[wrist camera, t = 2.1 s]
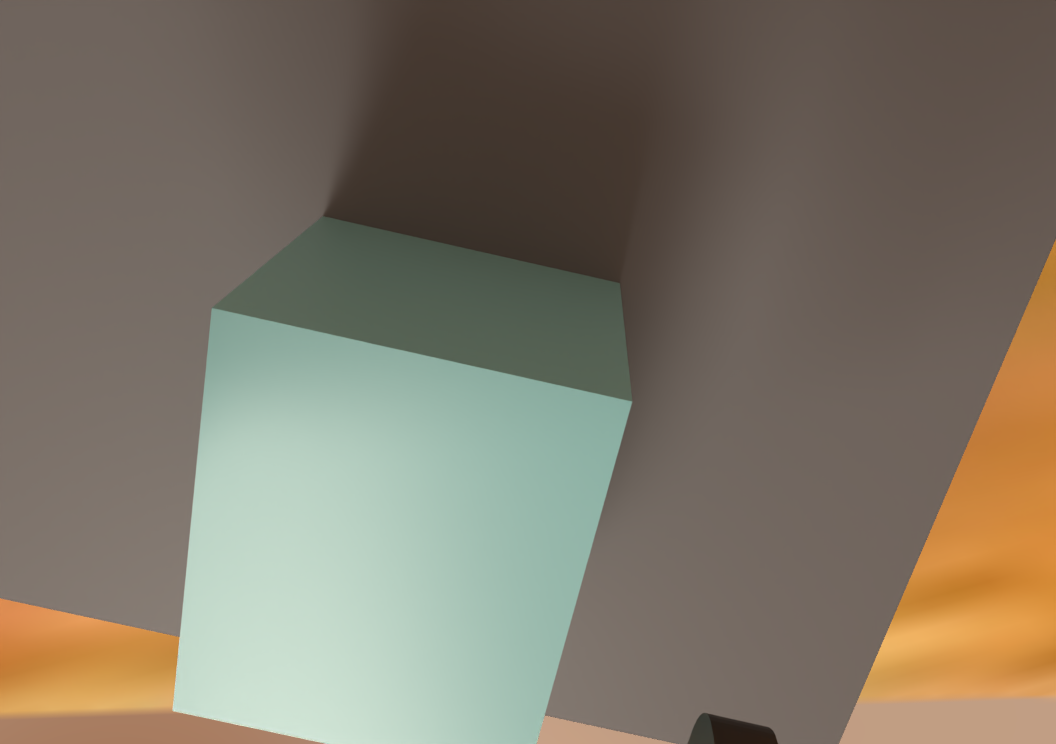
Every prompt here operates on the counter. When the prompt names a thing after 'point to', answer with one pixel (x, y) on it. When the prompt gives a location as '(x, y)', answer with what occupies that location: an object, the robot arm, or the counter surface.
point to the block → (397, 489)
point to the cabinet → (562, 243)
